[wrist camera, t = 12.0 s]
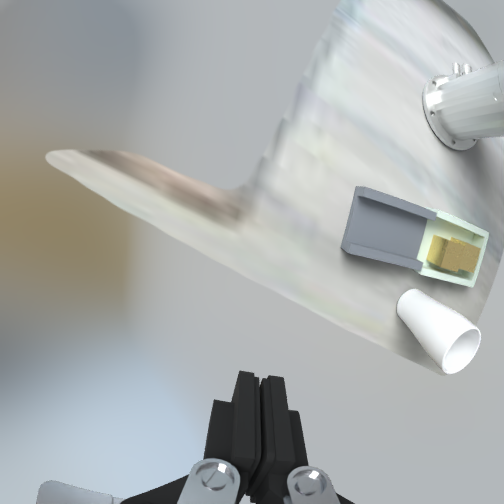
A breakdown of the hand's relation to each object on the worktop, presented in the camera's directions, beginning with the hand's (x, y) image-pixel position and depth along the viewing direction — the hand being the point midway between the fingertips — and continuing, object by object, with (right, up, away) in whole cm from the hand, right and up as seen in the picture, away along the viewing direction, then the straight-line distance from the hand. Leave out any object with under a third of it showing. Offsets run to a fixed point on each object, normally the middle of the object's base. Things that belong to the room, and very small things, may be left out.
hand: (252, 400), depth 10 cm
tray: (+30, +7, +26) cm, 41 cm away
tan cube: (+33, +6, +26) cm, 42 cm away
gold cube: (+29, +6, +26) cm, 39 cm away
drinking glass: (+25, -2, +29) cm, 38 cm away
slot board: (+19, +9, +26) cm, 33 cm away
